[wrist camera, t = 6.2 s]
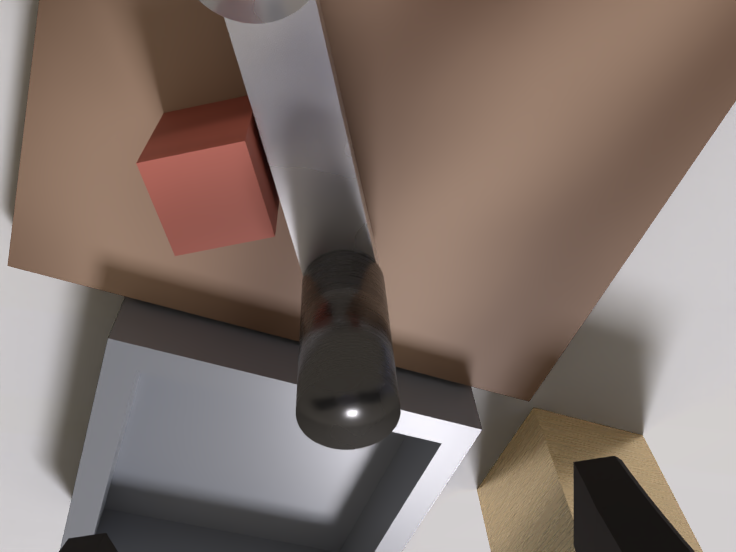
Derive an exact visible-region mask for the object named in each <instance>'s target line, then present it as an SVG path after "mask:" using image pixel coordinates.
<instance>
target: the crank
mask: <svg viewBox="0 0 736 552" xmlns="http://www.w3.org/2000/svg"><path fill="white" fill-rule="evenodd" d="M199 1H200V2H201V3H202V4H203V5H205V6H206V7H208V8H209V9H210V10H212V11H213V12H215V13H217V14H219V15H221V16H223V17H224V19H225V22H226V26H227V29H228V32H229V35H230V39H231V42H232V45H233V49H234V52H235V55H236V58H237V62H238V65H239V68H240V71H241V75H242V78H243V81H244V84H245V88H246V91H247V94H248V98H249V101H250V104H251V107H252V111H253V114H254V117H255V120H256V124H257V127H258V130H259V134H260V137H261V140H262V143H263V147H264V150H265V153H266V156H267V160H268V163H269V166H270V170H271V173H272V176H273V179H274V183H275V186H276V189H277V192H278V196H279V199H280V202H281V206H282V209H283V212H284V215H285V219H286V222H287V225H288V228H289V232H290V235H291V238H292V242H293V245H294V248H295V251H296V255H297V258H298V261H299V264H300V268H301V271H302V274H303V279H302V295H301V315H300V335H299V355H298V375H297V395H296V420H297V423H298V425H299V427H300V429H301V430H302V432H303V433H304V434H305V435H306V436H307V437H308V438H310V439H311V440H312V441H314V442H316V443H318V444H320V445H322V446H325V447H328V448H333V449H339V450H353V449H360V448H365V447H368V446H371V445H373V444H376V443H378V442H380V441H381V440H383V439H384V438H386V437H387V436H388V435H389V434H390V433H391V432H392V431H393V430H394V429H395V427H396V426H397V424H398V422H399V419H400V415H401V407H400V399H399V391H398V383H397V375H396V367H395V360H394V352H393V344H392V336H391V328H390V320H389V312H388V305H387V297H386V289H385V281H384V276H383V272H382V270H381V268H380V267H379V260H378V255H377V251H376V247H375V242H374V238H373V233H372V229H371V225H370V220H369V216H368V211H367V207H366V203H365V198H364V194H363V189H362V185H361V180H360V176H359V172H358V167H357V163H356V158H355V154H354V150H353V145H352V141H351V136H350V132H349V128H348V123H347V119H346V114H345V110H344V106H343V101H342V97H341V92H340V88H339V84H338V79H337V75H336V70H335V66H334V61H333V57H332V53H331V48H330V44H329V39H328V35H327V31H326V26H325V22H324V17H323V13H322V9H321V4H320V0H199Z"/></svg>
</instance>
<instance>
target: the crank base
mask: <svg viewBox="0 0 736 552" xmlns="http://www.w3.org/2000/svg"><path fill="white" fill-rule="evenodd" d="M320 4H321V9H322V13H323V17H324V22H325V26H326V31H327V35H328V39H329V44H330V48H331V53H332V57H333V61H334V66H335V70H336V75H337V79H338V84H339V88H340V92H341V97H342V101H343V106H344V110H345V114H346V119H347V123H348V128H349V132H350V136H351V141H352V145H353V150H354V154H355V158H356V163H357V167H358V172H359V176H360V180H361V185H362V189H363V194H364V198H365V203H366V207H367V211H368V216H369V220H370V225H371V229H372V233H373V238H374V242H375V247H376V251H377V255H378V260H379V267H380V268H381V270H382V272H383V276H384V281H385V289H386V297H387V305H388V312H389V320H390V328H391V336H392V344H393V352H394V360H395V367H399V368H402V369H406V370H410V371H414V372H418V373H422V374H426V375H429V376H433V377H437V378H441V379H445V380H449V381H452V382H456V383H460V384H464V385H468V386H472V387H475V388H479V389H483V390H487V391H491V392H495V393H499V394H502V395H506V396H510V397H514V398H518V399H522V400H525V401H530V400H531V398H532V397H533V395H534V394H535V392H536V391H537V390H538V388H539V387H540V385H541V384H542V382H543V381H544V379H545V378H546V376H547V375H548V374H549V372H550V371H551V369H552V368H553V366H554V365H555V363H556V362H557V360H558V359H559V358H560V356H561V355H562V353H563V352H564V350H565V349H566V347H567V346H568V344H569V343H570V341H571V340H572V339H573V337H574V336H575V334H576V333H577V331H578V330H579V328H580V327H581V325H582V324H583V323H584V321H585V320H586V318H587V317H588V315H589V314H590V312H591V311H592V309H593V308H594V307H595V305H596V304H597V302H598V301H599V299H600V298H601V296H602V295H603V293H604V292H605V290H606V289H607V288H608V286H609V285H610V283H611V282H612V280H613V279H614V277H615V276H616V274H617V273H618V272H619V270H620V269H621V267H622V266H623V264H624V263H625V261H626V260H627V258H628V257H629V256H630V254H631V253H632V251H633V250H634V248H635V247H636V245H637V244H638V242H639V241H640V240H641V238H642V237H643V235H644V234H645V232H646V231H647V229H648V228H649V226H650V225H651V223H652V222H653V221H654V219H655V218H656V216H657V215H658V213H659V212H660V210H661V209H662V207H663V206H664V205H665V203H666V202H667V200H668V199H669V197H670V196H671V194H672V193H673V191H674V190H675V189H676V187H677V186H678V184H679V183H680V181H681V180H682V178H683V177H684V175H685V174H686V172H687V171H688V170H689V168H690V167H691V165H692V164H693V162H694V161H695V159H696V158H697V156H698V155H699V154H700V152H701V151H702V149H703V148H704V146H705V145H706V143H707V142H708V140H709V139H710V138H711V136H712V135H713V133H714V132H715V130H716V129H717V127H718V126H719V124H720V123H721V121H722V120H723V119H724V117H725V116H726V114H727V113H728V111H729V110H730V108H731V107H732V105H733V104H734V103H735V101H736V0H320ZM8 266H11V267H14V268H18V269H22V270H26V271H30V272H34V273H37V274H41V275H45V276H49V277H53V278H57V279H60V280H64V281H68V282H72V283H76V284H80V285H84V286H87V287H91V288H95V289H99V290H103V291H107V292H110V293H114V294H118V295H122V296H126V297H130V298H133V299H137V300H141V301H145V302H149V303H153V304H157V305H160V306H164V307H168V308H172V309H176V310H180V311H183V312H187V313H191V314H195V315H199V316H203V317H206V318H210V319H214V320H218V321H222V322H226V323H230V324H233V325H237V326H241V327H245V328H249V329H253V330H256V331H260V332H264V333H268V334H272V335H276V336H280V337H283V338H287V339H291V340H295V341H299V335H300V315H301V295H302V279H303V274H302V271H301V268H300V264H299V261H298V258H297V255H296V251H295V248H294V245H293V242H292V238H291V235H290V232H289V228H288V225H287V222H286V219H285V215H284V212H283V209H282V206H281V202H280V199H279V196H278V192H277V189H276V186H275V183H274V179H273V176H272V173H271V170H270V166H269V163H268V160H267V156H266V153H265V150H264V147H263V143H262V140H261V137H260V134H259V130H258V127H257V124H256V120H255V117H254V114H253V111H252V107H251V104H250V101H249V98H248V94H247V91H246V88H245V84H244V81H243V78H242V75H241V71H240V68H239V65H238V62H237V58H236V55H235V52H234V49H233V45H232V42H231V39H230V35H229V32H228V29H227V26H226V22H225V19H224V17H223V16H221V15H219V14H217V13H215V12H213V11H212V10H210V9H209V8H208V7H206V6H205V5H203V4H202V3H201V2H200V1H199V0H39V5H38V14H37V22H36V31H35V39H34V48H33V56H32V64H31V73H30V81H29V90H28V98H27V107H26V115H25V123H24V132H23V140H22V149H21V157H20V166H19V174H18V182H17V191H16V199H15V208H14V216H13V225H12V233H11V241H10V250H9V258H8Z"/></svg>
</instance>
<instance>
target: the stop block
mask: <svg viewBox="0 0 736 552" xmlns="http://www.w3.org/2000/svg"><path fill="white" fill-rule="evenodd" d="M609 456H616V457H618V458H619V459H621V460H622V461H623V462H624V464H625V465H626V467H627V468H628V469H629V471H630V472H631V473H632V475H633V476H634V477H635V479H636V480H637V481H638V483H639V484H640V485H641V487H642V488H643V489H644V490H645V492H646V493H647V494H648V496H649V497H650V498H651V499H652V501H653V502H654V503H655V504H656V506H657V507H658V508H659V509H660V511H661V512H662V513H663V514H664V516H665V517H666V518H667V519H668V520H669V522H670V523H671V524H672V525H673V526H674V528H675V529H676V530H677V531H678V532H679V534H680V535H681V536H682V537H683V538H684V540H685V541H686V542H687V543H688V544H689V545H690V546H691V548H692V549H693V550H694V551H695V552H703V551H702V549H701V547H700V545H699V544H698V542H697V540H696V538H695V536H694V534H693V532H692V530H691V528H690V526H689V524H688V522H687V520H686V518H685V516H684V514H683V512H682V511H681V509H680V507H679V505H678V503H677V501H676V499H675V497H674V495H673V493H672V491H671V489H670V487H669V485H668V483H667V481H666V480H665V478H664V476H663V474H662V472H661V470H660V468H659V466H658V464H657V462H656V460H655V458H654V456H653V454H652V452H651V450H650V449H649V447H648V445H647V443H646V441H645V439H644V437H643V435H640V434H636V433H632V432H628V431H624V430H620V429H616V428H612V427H608V426H604V425H600V424H596V423H592V422H589V421H585V420H581V419H577V418H573V417H569V416H565V415H561V414H557V413H553V412H549V411H545V410H542V409H538V408H533V409H532V410H531V412H530V413H529V415H528V416H527V418H526V419H525V421H524V422H523V424H522V425H521V426H520V428H519V429H518V431H517V432H516V434H515V435H514V437H513V438H512V439H511V441H510V442H509V444H508V445H507V447H506V448H505V450H504V451H503V453H502V454H501V455H500V457H499V458H498V460H497V461H496V463H495V464H494V466H493V467H492V468H491V470H490V471H489V473H488V474H487V476H486V477H485V479H484V480H483V481H482V483H481V484H480V486H479V487H478V489H477V492H478V496H479V501H480V505H481V510H482V514H483V518H484V523H485V527H486V532H487V536H488V540H489V545H490V549H491V552H576V551H575V548H574V479H573V462H576V461H583V460H589V459H596V458H602V457H609Z"/></svg>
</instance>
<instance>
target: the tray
mask: <svg viewBox="0 0 736 552" xmlns="http://www.w3.org/2000/svg"><path fill="white" fill-rule="evenodd" d="M298 355H299V341H295V340H291V339H287V338H283V337H280V336H276V335H272V334H268V333H264V332H260V331H256V330H253V329H249V328H245V327H241V326H237V325H233V324H230V323H226V322H222V321H218V320H214V319H210V318H206V317H203V316H199V315H195V314H191V313H187V312H183V311H180V310H176V309H172V308H168V307H164V306H160V305H157V304H153V303H149V302H145V301H141V300H137V299H133V298H130V297H126V296H125V299H124V301H123V304H122V306H121V308H120V311H119V313H118V316H117V318H116V320H115V323H114V325H113V327H112V330H111V332H110V335H109V337H108V340H107V345H106V349H105V354H104V358H103V363H102V367H101V371H100V376H99V380H98V385H97V389H96V393H95V398H94V402H93V407H92V411H91V416H90V420H89V424H88V429H87V433H86V438H85V442H84V446H83V451H82V455H81V460H80V464H79V469H78V473H77V477H76V482H75V486H74V491H73V495H72V499H71V504H70V508H69V513H68V517H67V521H66V526H65V530H64V535H63V539H62V544H61V548H62V547H63V545H64V544H65V542H66V541H67V540H68V538H74V537H81V536H87V535H94V534H101V533H107V535H108V536H109V538H110V540H111V541H112V543H113V544H114V546H115V548H116V549H117V551H118V552H402V551H403V549H404V548H405V546H406V545H407V543H408V542H409V540H410V539H411V537H412V536H413V534H414V533H415V531H416V530H417V528H418V527H419V525H420V524H421V522H422V521H423V519H424V517H425V516H426V514H427V513H428V511H429V510H430V508H431V507H432V505H433V504H434V502H435V501H436V499H437V498H438V496H439V495H440V493H441V492H442V490H443V489H444V487H445V485H446V484H447V482H448V481H449V479H450V478H451V476H452V475H453V473H454V472H455V470H456V469H457V467H458V466H459V464H460V463H461V461H462V460H463V458H464V457H465V455H466V453H467V452H468V450H469V449H470V447H471V446H472V444H473V443H474V441H475V440H476V438H477V437H478V435H479V434H480V432H481V431H482V427H481V424H480V420H479V416H478V412H477V408H476V404H475V400H474V396H473V392H472V388H471V386H468V385H464V384H460V383H456V382H452V381H449V380H445V379H441V378H437V377H433V376H429V375H426V374H422V373H418V372H414V371H410V370H406V369H402V368H399V367H396V375H397V383H398V391H399V399H400V407H401V415H400V419H399V422H398V424H397V426H396V427H395V429H394V430H393V431H392V432H391V433H390V434H389V435H388V436H387V437H386V438H384V439H383V440H381V441H380V442H378V443H376V444H373V445H371V446H368V447H365V448H360V449H353V450H339V449H333V448H328V447H325V446H322V445H320V444H318V443H316V442H314V441H312V440H311V439H310V438H308V437H307V436H306V435H305V434H304V433H303V432H302V430H301V429H300V427H299V425H298V423H297V420H296V395H297V375H298ZM61 548H60V549H61Z"/></svg>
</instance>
